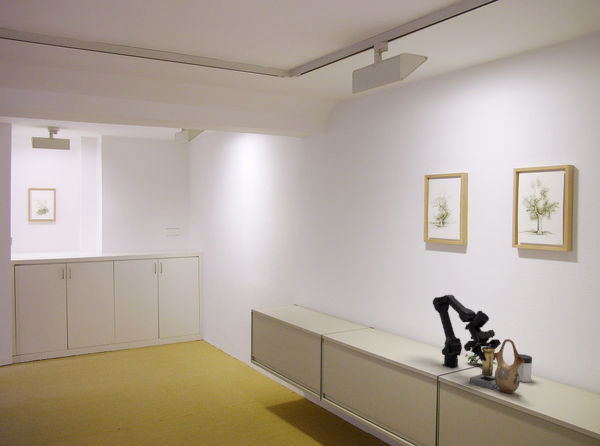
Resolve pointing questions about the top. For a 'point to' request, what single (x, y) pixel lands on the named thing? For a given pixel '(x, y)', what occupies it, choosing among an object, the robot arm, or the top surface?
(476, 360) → the passion flower
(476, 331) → the robot arm
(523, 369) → the jar
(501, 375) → the ceramic vessel
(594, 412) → the top surface
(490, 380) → the grey square flat frame
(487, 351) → the brass goblet
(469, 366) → the top surface
